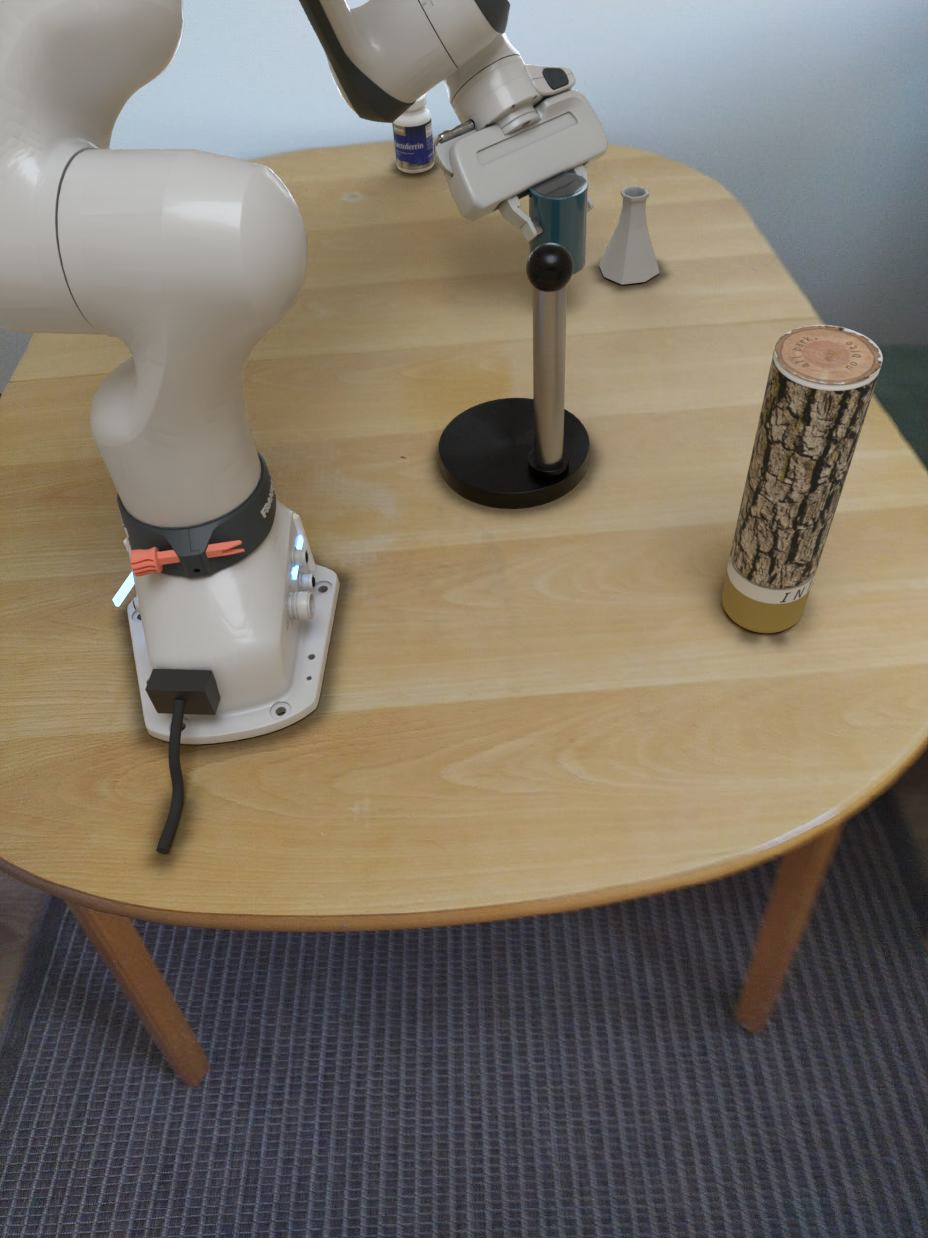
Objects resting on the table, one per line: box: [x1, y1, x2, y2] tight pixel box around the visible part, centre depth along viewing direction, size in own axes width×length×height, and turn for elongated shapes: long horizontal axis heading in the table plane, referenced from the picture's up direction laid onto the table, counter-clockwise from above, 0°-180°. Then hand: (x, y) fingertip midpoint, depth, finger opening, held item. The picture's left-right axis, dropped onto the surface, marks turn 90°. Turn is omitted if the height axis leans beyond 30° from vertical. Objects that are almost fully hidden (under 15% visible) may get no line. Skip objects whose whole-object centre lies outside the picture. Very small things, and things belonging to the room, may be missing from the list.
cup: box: [528, 172, 589, 275], centre depth 105 cm, size 6×6×9 cm
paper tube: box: [721, 324, 884, 634], centre depth 71 cm, size 7×7×25 cm
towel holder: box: [438, 243, 590, 510], centre depth 86 cm, size 15×15×24 cm
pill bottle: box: [391, 93, 435, 174], centre depth 138 cm, size 6×6×10 cm
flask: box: [598, 184, 660, 285], centre depth 114 cm, size 7×7×10 cm
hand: (561, 224), depth 105 cm, fingers closed on cup, 6 cm apart
